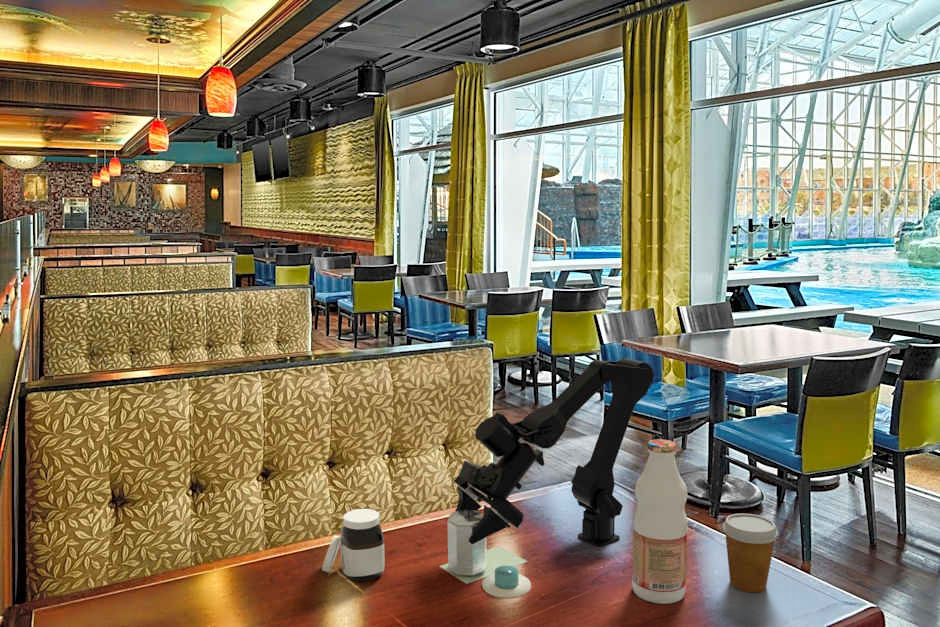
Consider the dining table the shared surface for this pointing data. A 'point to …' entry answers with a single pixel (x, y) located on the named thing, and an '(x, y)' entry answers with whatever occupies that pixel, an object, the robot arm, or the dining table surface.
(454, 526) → the grey metal canister
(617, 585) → the dining table surface
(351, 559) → the spread jar
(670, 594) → the fruit juice
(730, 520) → the disposable coffee cup
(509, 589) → the teal puck on dish
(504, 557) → the sage placemat
